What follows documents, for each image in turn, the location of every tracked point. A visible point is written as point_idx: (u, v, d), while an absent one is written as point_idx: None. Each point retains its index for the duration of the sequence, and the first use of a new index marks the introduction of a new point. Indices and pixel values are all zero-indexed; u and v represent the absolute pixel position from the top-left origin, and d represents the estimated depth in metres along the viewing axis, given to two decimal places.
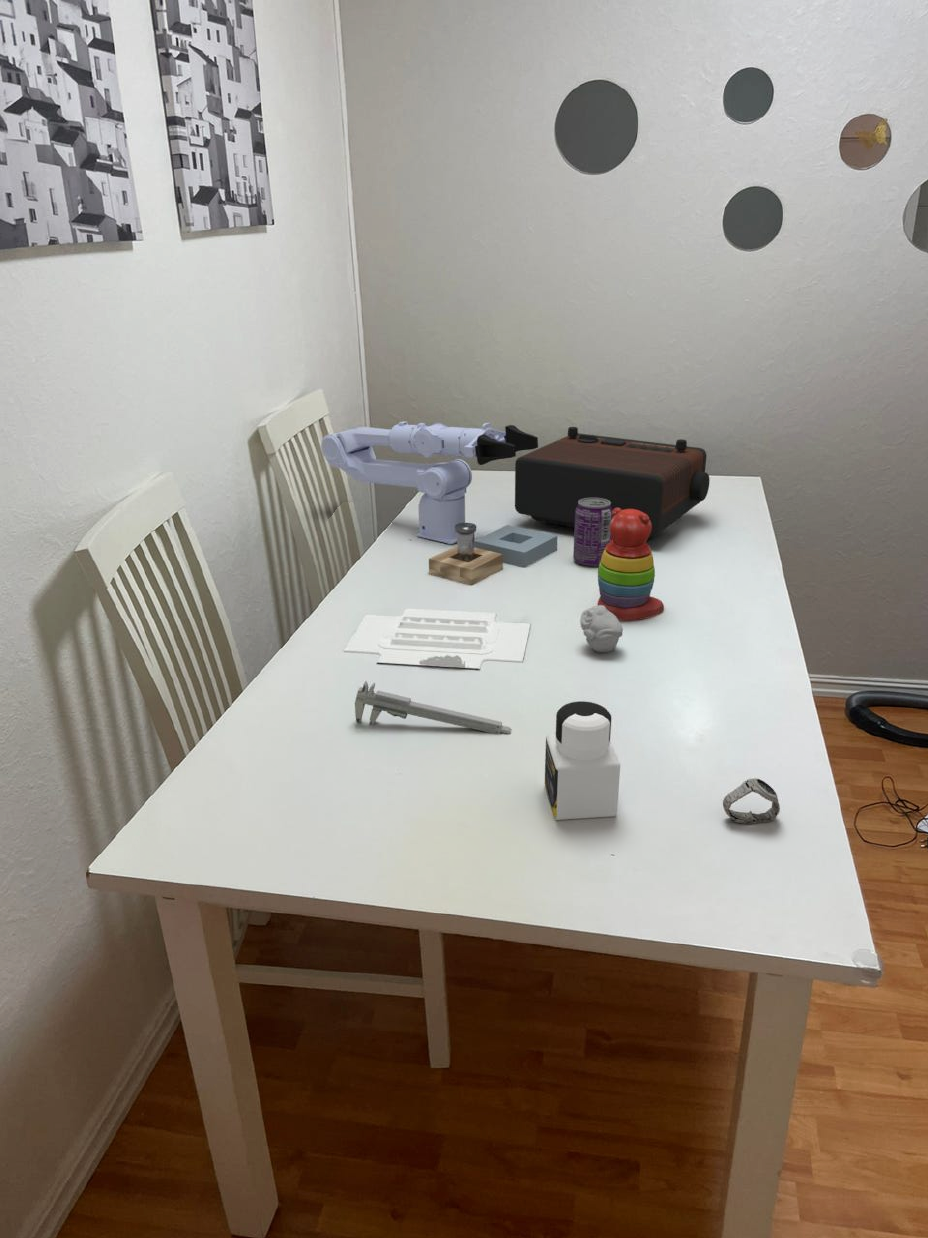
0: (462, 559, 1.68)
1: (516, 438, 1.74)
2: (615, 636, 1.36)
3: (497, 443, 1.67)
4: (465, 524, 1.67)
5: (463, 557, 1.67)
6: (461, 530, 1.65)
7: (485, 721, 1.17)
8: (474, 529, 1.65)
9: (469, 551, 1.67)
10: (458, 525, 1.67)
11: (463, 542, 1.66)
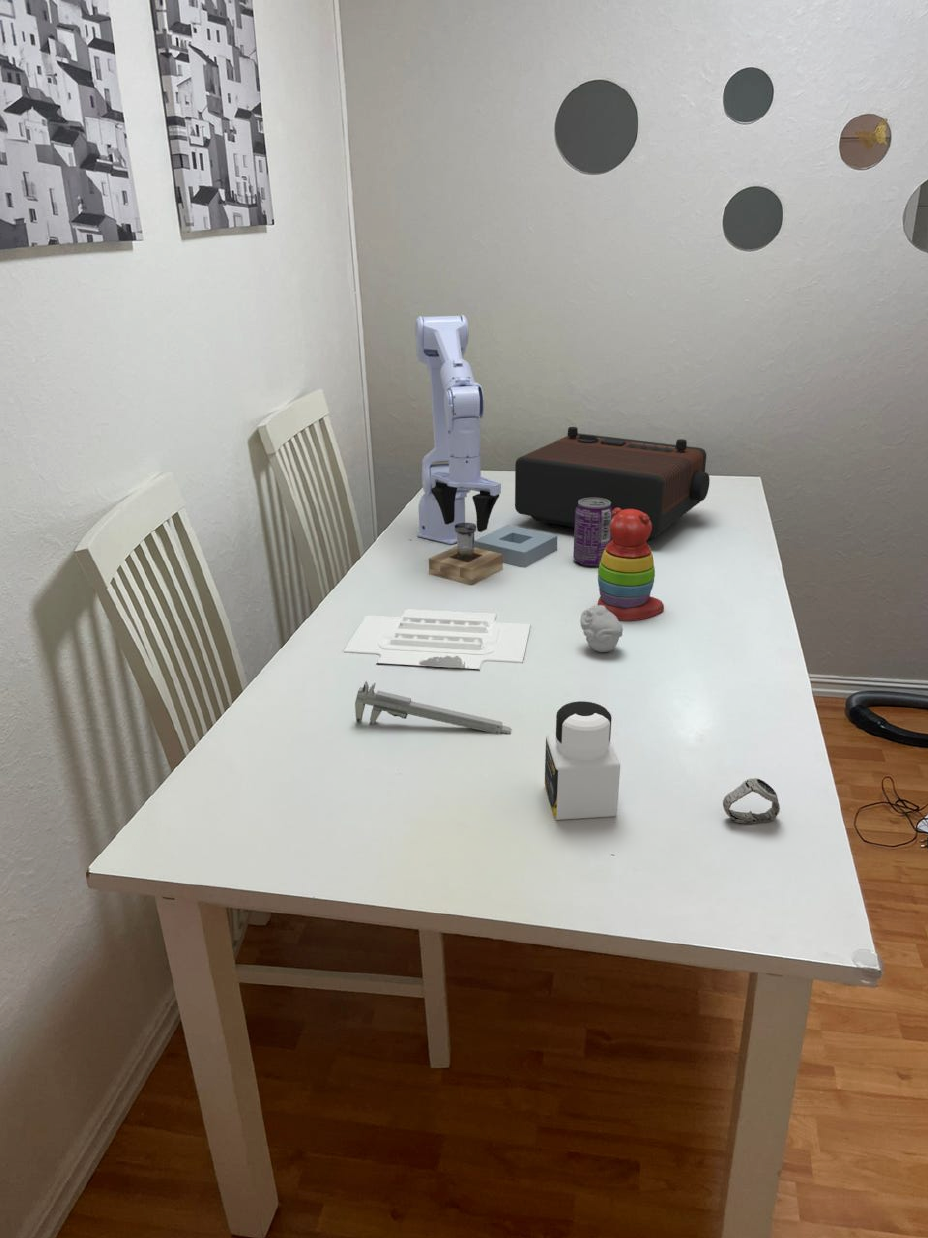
0: (462, 559, 1.68)
1: None
2: (615, 636, 1.36)
3: None
4: (465, 524, 1.67)
5: (463, 557, 1.67)
6: (461, 530, 1.65)
7: (485, 721, 1.17)
8: (474, 529, 1.65)
9: (469, 551, 1.67)
10: (458, 525, 1.67)
11: (463, 542, 1.66)
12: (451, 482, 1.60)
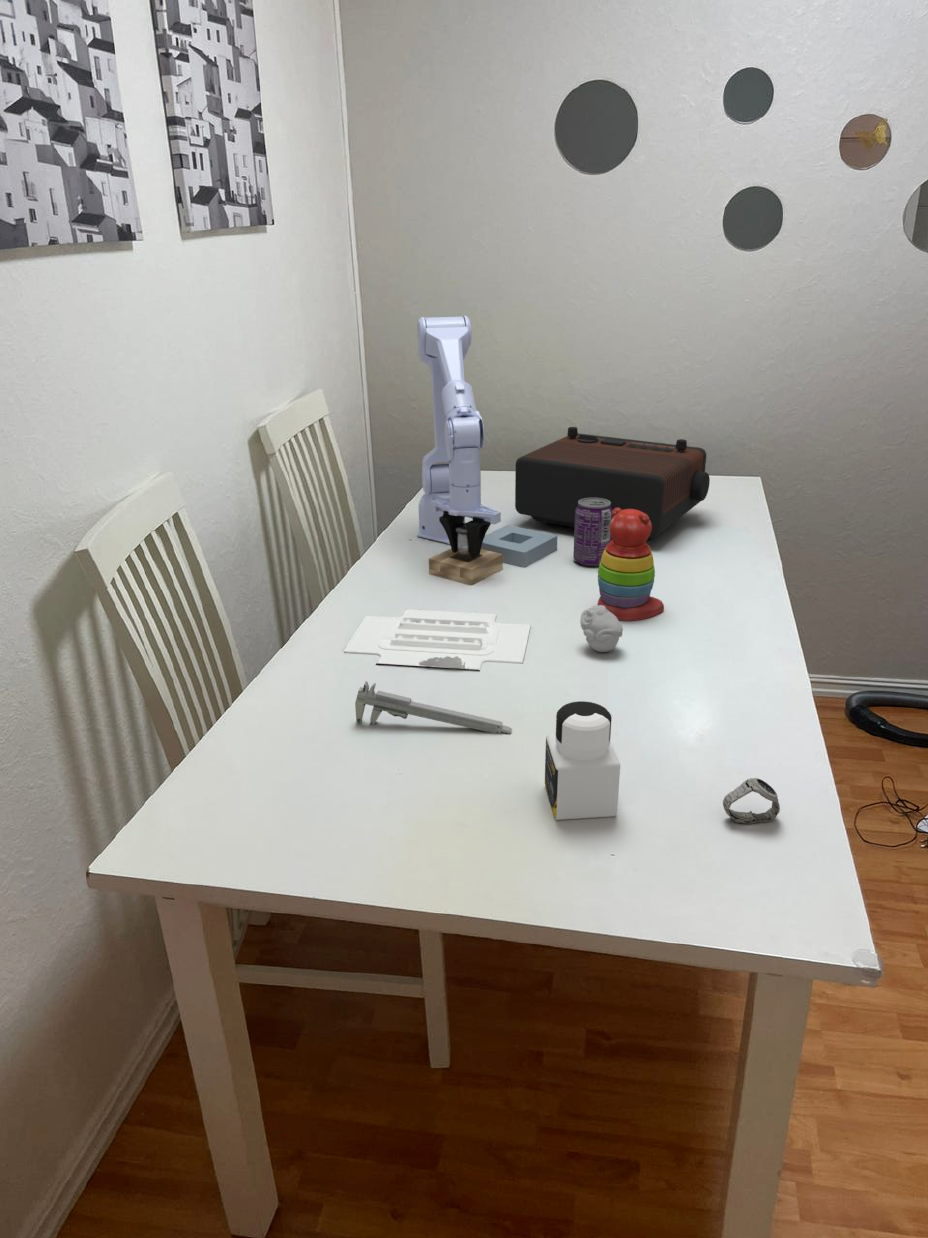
0: (462, 559, 1.68)
1: None
2: (615, 636, 1.36)
3: None
4: None
5: (463, 557, 1.67)
6: (461, 530, 1.65)
7: (486, 721, 1.17)
8: None
9: (469, 552, 1.67)
10: (458, 525, 1.67)
11: (463, 542, 1.66)
12: (452, 510, 1.62)
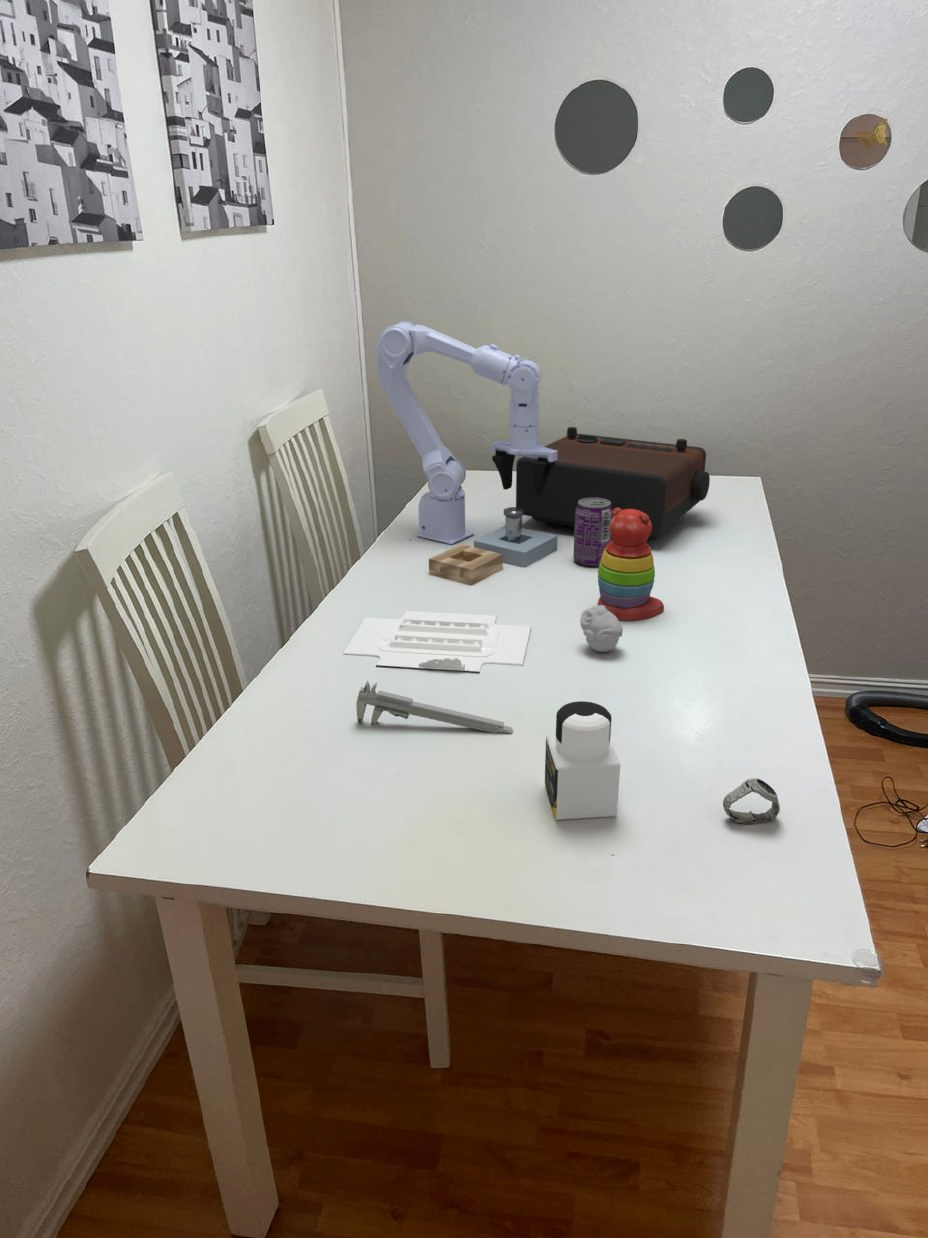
0: None
1: None
2: (615, 636, 1.36)
3: None
4: (513, 508, 1.76)
5: (511, 540, 1.76)
6: (510, 514, 1.73)
7: (487, 721, 1.17)
8: (522, 513, 1.74)
9: (517, 535, 1.75)
10: (507, 509, 1.75)
11: (511, 525, 1.75)
12: (512, 449, 1.75)
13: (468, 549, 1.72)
